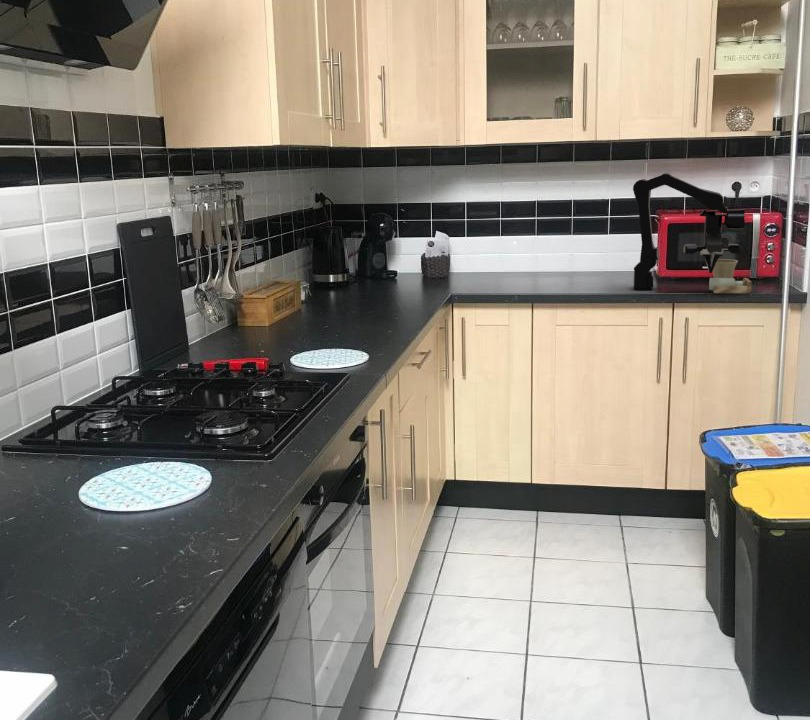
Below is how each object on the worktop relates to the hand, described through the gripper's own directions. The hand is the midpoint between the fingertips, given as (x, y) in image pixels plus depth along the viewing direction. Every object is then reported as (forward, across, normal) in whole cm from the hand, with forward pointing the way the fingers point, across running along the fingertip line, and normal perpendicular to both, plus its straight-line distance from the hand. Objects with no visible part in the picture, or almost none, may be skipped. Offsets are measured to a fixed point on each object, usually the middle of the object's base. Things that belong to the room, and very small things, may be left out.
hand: (710, 272), depth 298 cm
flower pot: (+7, +7, +16) cm, 19 cm away
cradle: (+6, +6, 0) cm, 9 cm away
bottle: (+4, 0, 0) cm, 4 cm away
